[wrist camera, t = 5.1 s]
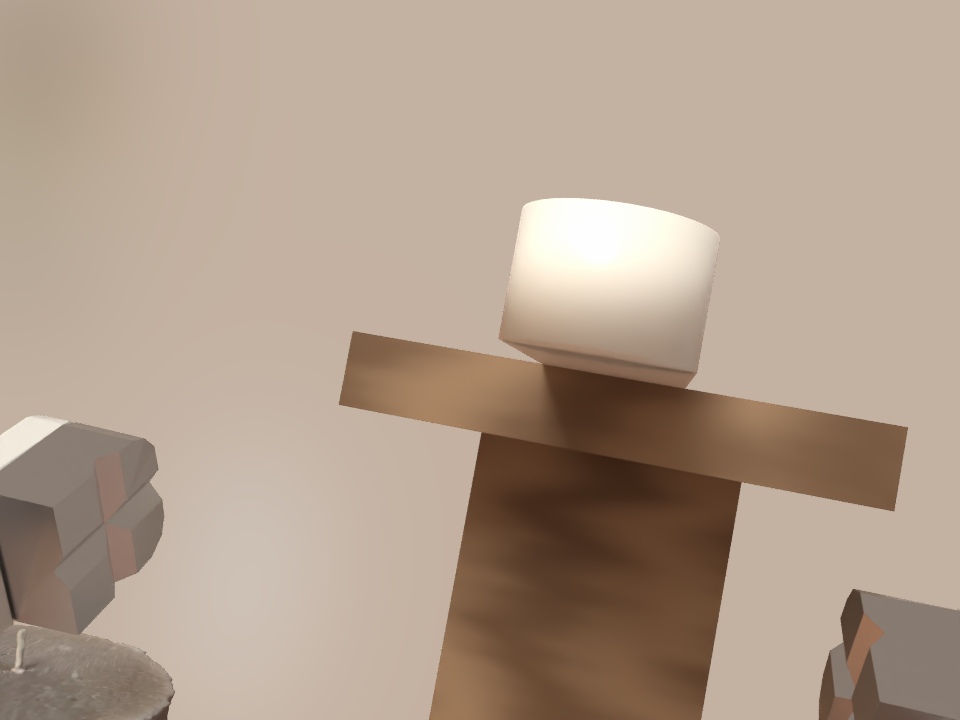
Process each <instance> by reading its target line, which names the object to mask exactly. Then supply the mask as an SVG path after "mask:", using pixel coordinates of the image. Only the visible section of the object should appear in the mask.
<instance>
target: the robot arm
mask: <svg viewBox="0 0 960 720" xmlns="http://www.w3.org/2000/svg"><path fill="white" fill-rule="evenodd" d="M157 471H158V464H157V459H156V454H155V448H154V446H153V445H152V444H151V443H149V442H148V441H147V440H146V439H144V438H140V437H136V436H132V435H127V434H123V433H119V432H114V431H110V430H106V429H102V428H97V427H93V426H89V425H85V424H81V423H73V422H70V421H66V420H61V419H57V418H53V417H48V416H44V415H40V416H29V417H27V418H25V419H24V420H22V421H21V422H19V423H18V424H16V425H15V426H14V427H12V428H11V429H9V430H8V431H6V432H5V433H3V434H2V435H0V631H1V630H3V629H5V628H7V627H9V626H11V625H13V620H14V621H18V622H22V623H26V624H31V625H35V626H39V627H43V628H48V629H52V630H56V631H61V632H65V633H69V634H73V635H78V636H79V634H80V633H81V632H82V631H83V630H84V629H85V628H86V627H87V626H88V625H89V624H90V623H91V622H92V621H93V620H94V619H95V617H96V616H97V615H98V614H99V613H100V612H101V611H102V610H103V609H104V608H105V607H106V606H107V605H108V604H109V603H110V602H111V601H112V600H113V598H114V597H115V596H114V595H115V585H114V584H115V582H117V581H119V580H121V579H124V578H126V577H129V576H131V575H133V574H136V573H138V572H139V571H140V569H141V568H142V567H143V566H144V565H145V564H146V563H147V562H148V560H149V559H150V558H151V557H152V555H153V553H154V551H155V548H156V546H157V544H158V542H159V540H160V537H161V535H162V528H163V521H164V511H163V502H162V499H161V497H160V496H159V495H158V493H157V492H156V490H155V489H154V488H153V486H152V485H151V484H150V482H149V481H150V480H151V479H152V477H153V476H154V475H155V473H156V472H157ZM841 626H842V633H843V641H844V642H843V643H842V644H840V645H838V646H837V647H835V648H834V649H832V650H830V653H829V656H828V660H827V663H826V667H825V670H824V674H823V679H822V686H821V692H820V699H819V720H960V609H957V610H952V609H948V608H943V607H938V606H933V605H928V604H924V603H919V602H914V601H909V600H905V599H899V598H894V597H890V596H885V595H880V594H876V593H871V592H866V591H861V590H856V589H853V590H852V592H851V594H850V595H849V597H848V599H847V601H846V604H845V607H844V610H843V613H842V616H841Z"/></svg>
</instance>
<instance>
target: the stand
mask: <svg viewBox="0 0 960 720" xmlns="http://www.w3.org/2000/svg"><path fill="white" fill-rule="evenodd" d="M339 405H343V406H349V407H353V408H359V409H364V410H369V411H374V412H379V413H385V414H390V415H396V416H401V417H405V418H411V419H416V420H421V421H426V422H431V423H437V424H442V425H447V426H453V427H458V428H463V429H468V430H473V431H479V432H482V433H481V439H480V444H479V449H478V455H477V461H476V466H475V471H474V477H473V482H472V488H471V493H470V499H469V505H468V510H467V515H466V521H465V526H464V532H463V538H462V542H461V548H460V554H459V559H458V564H457V570H456V575H455V581H454V586H453V592H452V597H451V603H450V608H449V614H448V619H447V624H446V630H445V636H444V641H443V647H442V652H441V657H440V663H439V668H438V674H437V679H436V685H435V690H434V695H433V701H432V706H431V712H430V717H429V720H701V717H702V711H703V705H704V699H705V693H706V687H707V681H708V675H709V670H710V664H711V658H712V652H713V646H714V640H715V634H716V628H717V622H718V617H719V611H720V605H721V599H722V593H723V587H724V581H725V576H726V570H727V563H728V558H729V552H730V546H731V541H732V535H733V529H734V523H735V517H736V511H737V505H738V499H739V494H740V488H741V482H744V483H749V484H754V485H760V486H765V487H770V488H775V489H781V490H786V491H791V492H796V493H801V494H807V495H812V496H817V497H822V498H827V499H832V500H838V501H843V502H848V503H854V504H858V505H864V506H869V507H874V508H880V509H885V510H890V511H894V509H895V503H896V497H897V491H898V484H899V478H900V473H901V466H902V460H903V454H904V448H905V442H906V436H907V430H908V427H902V426H897V425H891V424H885V423H879V422H873V421H867V420H862V419H856V418H850V417H844V416H839V415H833V414H827V413H822V412H816V411H810V410H804V409H799V408H793V407H787V406H780V405H775V404H769V403H764V402H758V401H752V400H746V399H741V398H735V397H729V396H723V395H718V394H712V393H706V392H700V391H694V390H688V389H683V388H677V387H672V386H666V385H660V384H654V383H648V382H643V381H637V380H631V379H625V378H620V377H614V376H608V375H602V374H597V373H591V372H585V371H579V370H573V369H568V368H562V367H556V366H550V365H545V364H539V363H533V362H527V361H522V360H515V359H510V358H504V357H498V356H492V355H486V354H481V353H475V352H470V351H463V350H458V349H452V348H447V347H441V346H435V345H429V344H424V343H417V342H412V341H406V340H400V339H394V338H389V337H383V336H377V335H371V334H366V333H360V332H354V331H353V333H352V339H351V343H350V349H349V354H348V359H347V365H346V370H345V375H344V381H343V386H342V391H341V396H340V401H339Z"/></svg>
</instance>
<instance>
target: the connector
mask: <svg viewBox="0 0 960 720" xmlns="http://www.w3.org/2000/svg"><path fill="white" fill-rule="evenodd" d="M719 243H720V237H719V235H718V234H717V233H716V232H715V231H714V230H712V229H711V228H709V227H707V226H705V225H704V224H702V223H699V222H697V221H694V220H692V219H689V218H686V217H683V216H679V215H676V214H673V213H669V212H666V211H662V210H657V209H653V208H649V207H644V206H638V205H633V204H627V203H620V202H613V201H605V200H594V199H577V198H555V199H543V200H537V201H533V202H530V203H528V204H526V205H524V207H523V208H522V213H521V219H520V224H519V230H518V235H517V240H516V246H515V251H514V257H513V262H512V268H511V273H510V278H509V284H508V289H507V295H506V301H505V306H504V311H503V317H502V323H501V328H500V333H499V339H500V340H502V341H503V342H505V343H507V344H508V345H510V346H512V347H514V348H515V349H517V350H519V351H521V352H522V353H524V354H526V355H528V356H529V357H531V358H533V359H535V360H537V361H538V362H540V363H542V364H545V365H550V366H556V367H562V368H568V369H573V370H579V371H585V372H591V373H597V374H602V375H608V376H614V377H620V378H625V379H631V380H637V381H643V382H648V383H654V384H660V385H666V386H672V387H677V388H683V389H685V388H686V387H687V385H688V384H689V383H690V381H691V380H692V379H693V377H694V376H695V375H696V373H697V370H698V364H699V358H700V352H701V346H702V341H703V335H704V329H705V323H706V318H707V312H708V306H709V301H710V294H711V289H712V283H713V277H714V272H715V266H716V260H717V254H718V248H719Z"/></svg>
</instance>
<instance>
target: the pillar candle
mask: <svg viewBox="0 0 960 720" xmlns="http://www.w3.org/2000/svg"><path fill="white" fill-rule="evenodd" d="M145 653H146V652H144V651H142V650H140V649H139V648H136V647H134V646H130V645H127V644H124V643H121V644H120V643H114V642H112V641H110V640H108V639H101V638H99V637H95V636H91V635H87V634H82V633H80V634H79V636H78V635H73V634H69V633H65V632H61V631H56V630H52V629H48V628H43V627H33V626H22V625H11V626H9V627H7V628H5V629H3V630H1V631H0V720H167V714H168V710H169V705H170V704H171V699H172V698H173V696H174V693H175V691H174V690H173V685H172V683H171V681H172V678H171V677H170V676H169V675H168V673H166V671H165V669H163V668H162V667H161V666H160V665H159V664H158V663H156V662H154V661H153V660H151V658H150V657H149V656H147V655H145Z"/></svg>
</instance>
